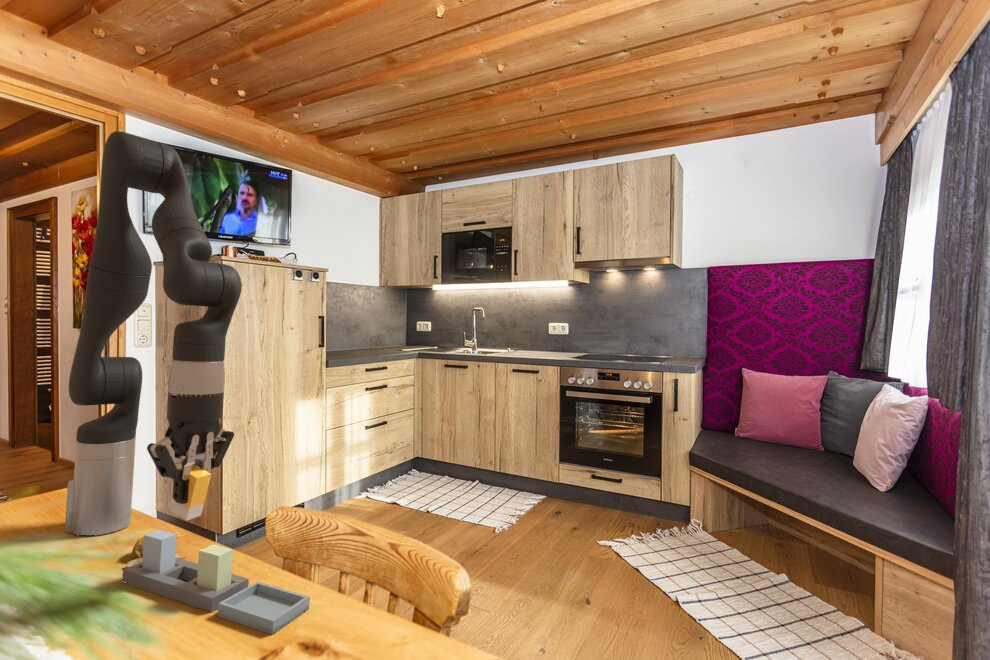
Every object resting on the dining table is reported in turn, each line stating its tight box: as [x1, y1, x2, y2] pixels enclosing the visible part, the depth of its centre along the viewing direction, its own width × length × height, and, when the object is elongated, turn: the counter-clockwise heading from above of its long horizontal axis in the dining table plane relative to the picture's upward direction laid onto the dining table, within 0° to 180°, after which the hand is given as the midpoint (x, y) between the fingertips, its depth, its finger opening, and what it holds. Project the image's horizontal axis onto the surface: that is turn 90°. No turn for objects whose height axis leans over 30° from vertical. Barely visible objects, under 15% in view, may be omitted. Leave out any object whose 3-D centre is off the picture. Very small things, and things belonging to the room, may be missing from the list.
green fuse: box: [197, 544, 234, 592], centre depth 76 cm, size 4×2×7 cm, turn 69°
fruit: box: [125, 536, 186, 568], centre depth 87 cm, size 8×8×4 cm
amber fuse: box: [168, 464, 212, 521], centre depth 78 cm, size 4×2×7 cm, turn 69°
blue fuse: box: [142, 529, 178, 574], centre depth 80 cm, size 4×2×7 cm, turn 69°
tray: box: [217, 581, 311, 635], centre depth 73 cm, size 10×7×2 cm
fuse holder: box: [121, 557, 250, 613], centre depth 78 cm, size 19×6×2 cm, turn 69°
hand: (189, 499), depth 78 cm, fingers closed on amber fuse, 2 cm apart
